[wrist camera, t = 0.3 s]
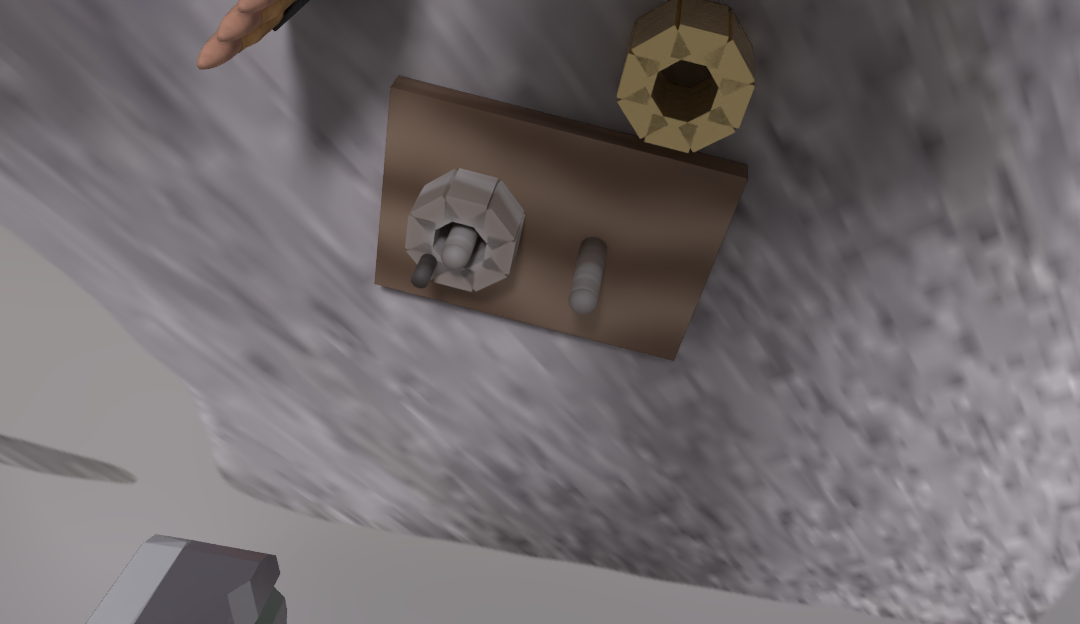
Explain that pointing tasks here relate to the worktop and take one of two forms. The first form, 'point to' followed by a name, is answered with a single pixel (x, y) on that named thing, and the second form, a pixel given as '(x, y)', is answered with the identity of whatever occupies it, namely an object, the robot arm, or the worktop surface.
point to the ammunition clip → (245, 28)
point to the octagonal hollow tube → (677, 109)
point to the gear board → (548, 218)
